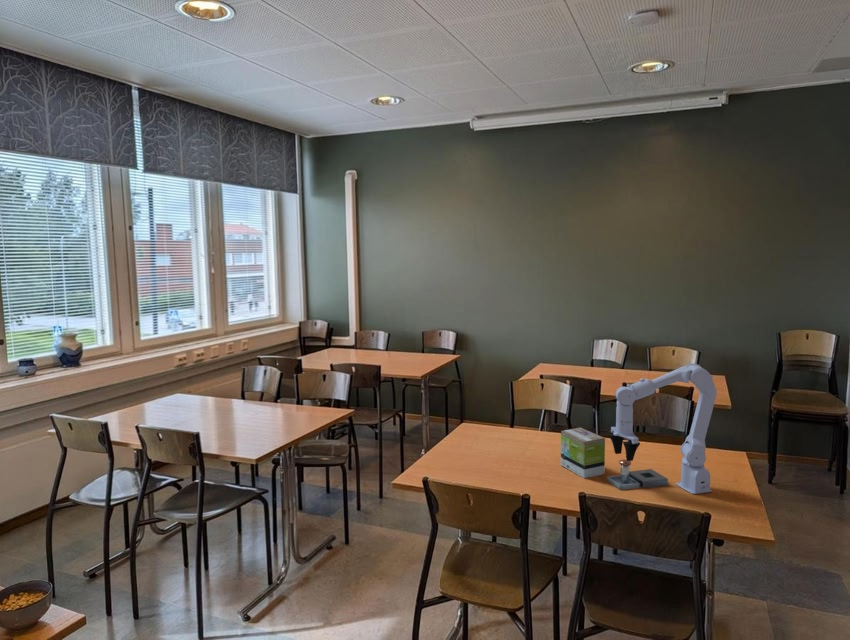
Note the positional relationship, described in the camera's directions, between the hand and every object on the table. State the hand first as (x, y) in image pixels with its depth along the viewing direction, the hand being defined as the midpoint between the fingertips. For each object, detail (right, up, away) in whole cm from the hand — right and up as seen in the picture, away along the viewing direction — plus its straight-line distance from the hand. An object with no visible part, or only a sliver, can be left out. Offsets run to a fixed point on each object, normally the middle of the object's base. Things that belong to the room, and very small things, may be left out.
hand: (623, 457), depth 212 cm
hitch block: (+9, -10, +3) cm, 14 cm away
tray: (0, -10, +1) cm, 10 cm away
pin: (+1, -10, +1) cm, 10 cm away
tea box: (-11, -9, +15) cm, 21 cm away
